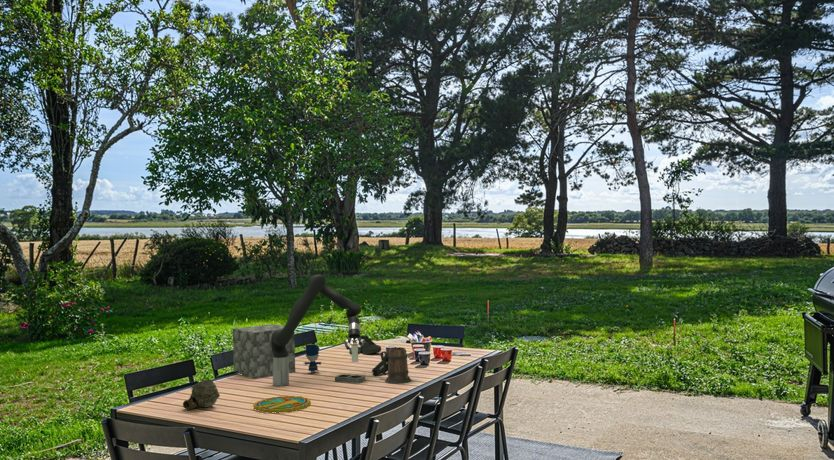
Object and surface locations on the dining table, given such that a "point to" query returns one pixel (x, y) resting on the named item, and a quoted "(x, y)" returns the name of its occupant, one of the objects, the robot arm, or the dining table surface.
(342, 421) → the dining table surface
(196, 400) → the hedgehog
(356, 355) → the two-tone square post
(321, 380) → the dining table surface
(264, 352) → the block
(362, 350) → the running shoe
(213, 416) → the dining table surface
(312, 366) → the figurine
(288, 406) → the decorative plaque
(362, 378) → the divided rectangular frame
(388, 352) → the toy gun
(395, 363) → the tankard
